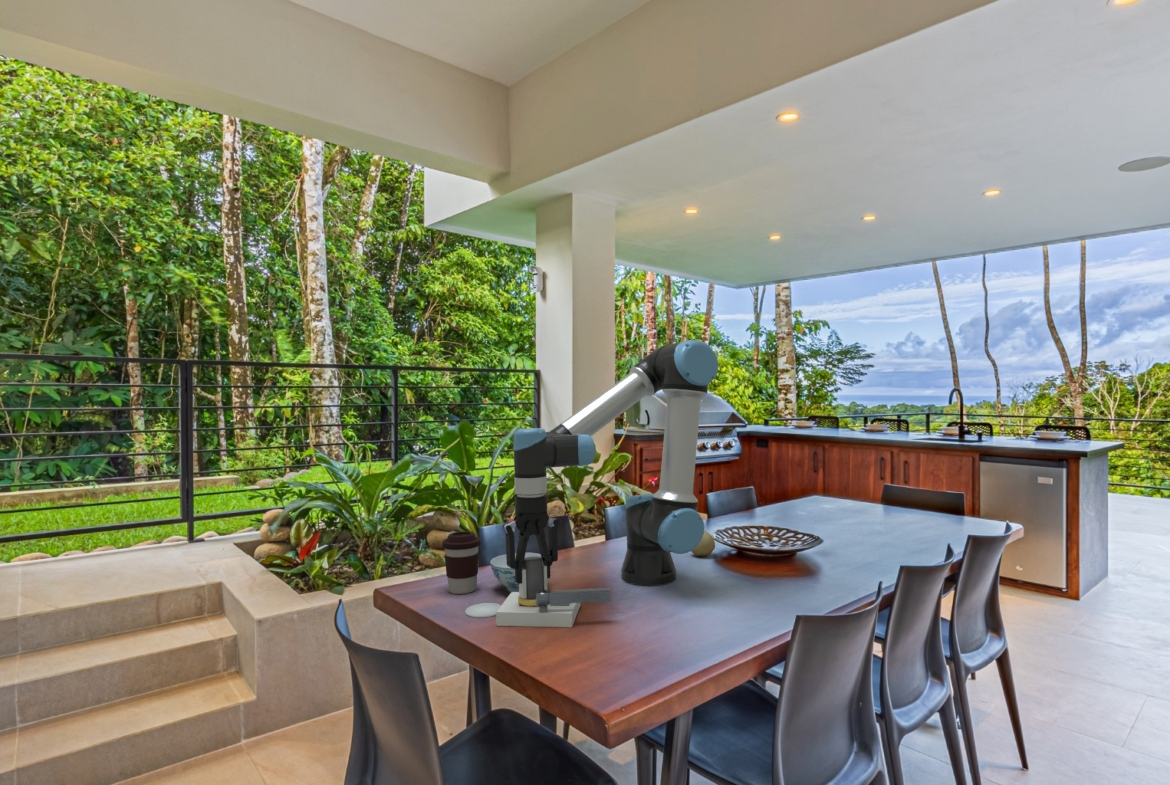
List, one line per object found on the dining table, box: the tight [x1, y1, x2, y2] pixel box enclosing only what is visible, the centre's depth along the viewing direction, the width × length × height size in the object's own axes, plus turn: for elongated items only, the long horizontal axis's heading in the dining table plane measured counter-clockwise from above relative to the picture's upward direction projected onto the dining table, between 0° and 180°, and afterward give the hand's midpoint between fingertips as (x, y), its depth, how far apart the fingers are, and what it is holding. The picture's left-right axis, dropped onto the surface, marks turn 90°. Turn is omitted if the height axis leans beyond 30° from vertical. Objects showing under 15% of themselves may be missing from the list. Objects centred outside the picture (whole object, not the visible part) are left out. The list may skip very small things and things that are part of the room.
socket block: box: [495, 592, 582, 628], centre depth 139 cm, size 17×14×4 cm
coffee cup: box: [441, 530, 481, 595], centre depth 159 cm, size 10×10×15 cm
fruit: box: [690, 530, 716, 557], centre depth 187 cm, size 8×8×8 cm
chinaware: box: [489, 552, 541, 593], centre depth 159 cm, size 15×15×8 cm
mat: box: [464, 602, 502, 619], centre depth 143 cm, size 9×9×1 cm
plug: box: [518, 556, 543, 606], centre depth 140 cm, size 7×7×13 cm
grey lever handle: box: [536, 587, 612, 606], centre depth 134 cm, size 17×3×2 cm, turn 94°
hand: (533, 594), depth 140 cm, fingers closed on plug, 5 cm apart
